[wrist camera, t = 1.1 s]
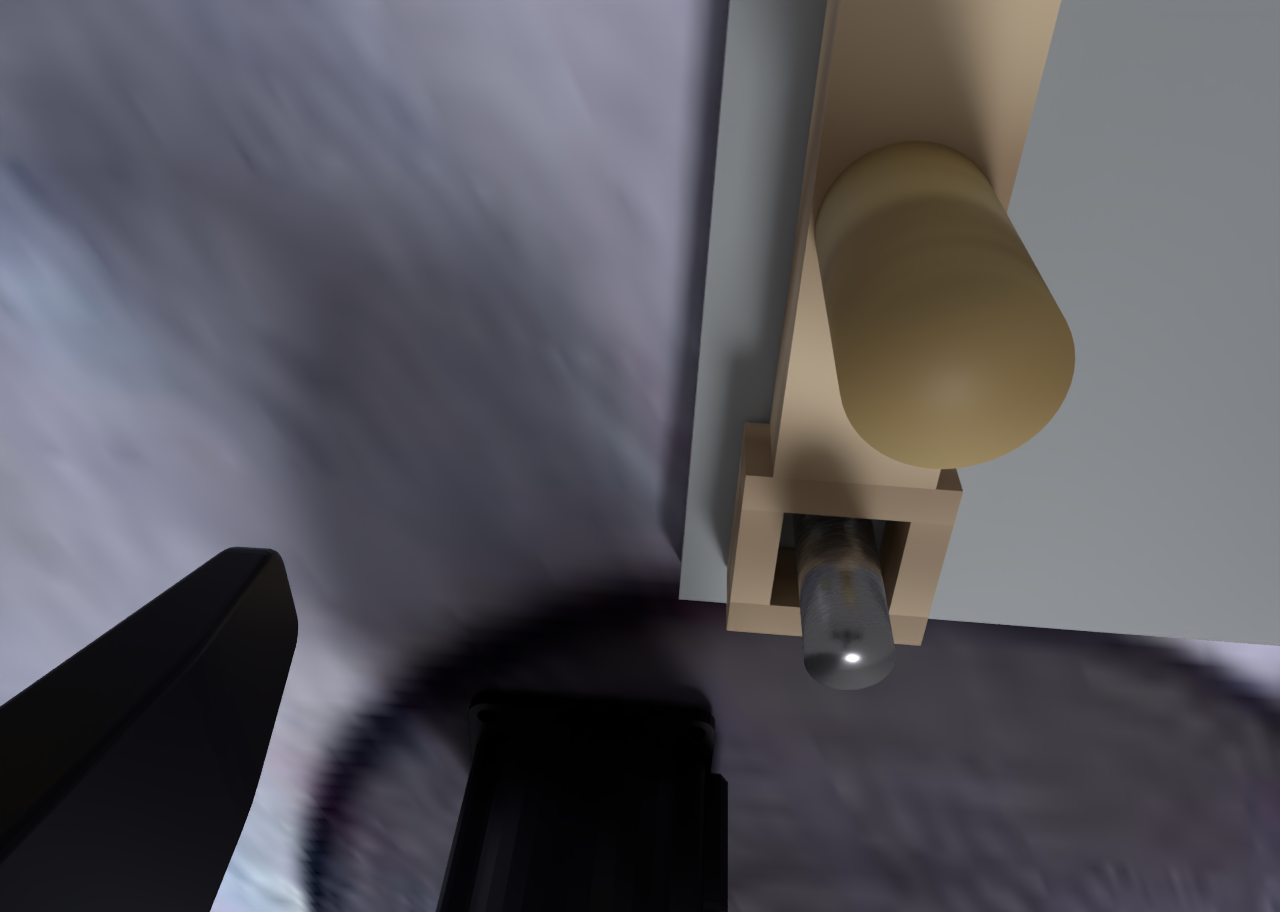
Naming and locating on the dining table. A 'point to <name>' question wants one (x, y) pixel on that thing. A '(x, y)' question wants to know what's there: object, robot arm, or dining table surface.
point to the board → (1091, 304)
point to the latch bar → (902, 299)
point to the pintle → (842, 602)
